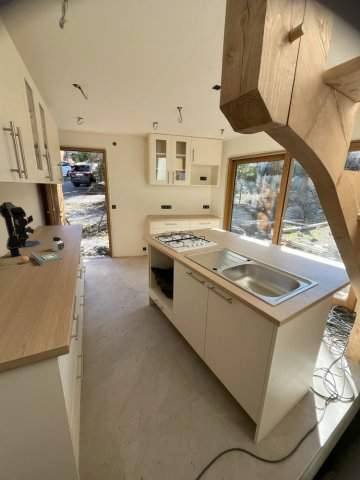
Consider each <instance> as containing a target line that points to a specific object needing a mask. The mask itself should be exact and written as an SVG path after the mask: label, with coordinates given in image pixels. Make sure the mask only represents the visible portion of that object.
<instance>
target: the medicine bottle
mask: <svg viewBox="0 0 360 480" xmlns="http://www.w3.org/2000/svg"><path fill="white" fill-rule="evenodd" d="M52 241H53V242H50V247H51V251H54V252H60V251H62V250H65V244H64V243H65V242H64V241H62V239H61V236H54V237H52Z"/></svg>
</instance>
